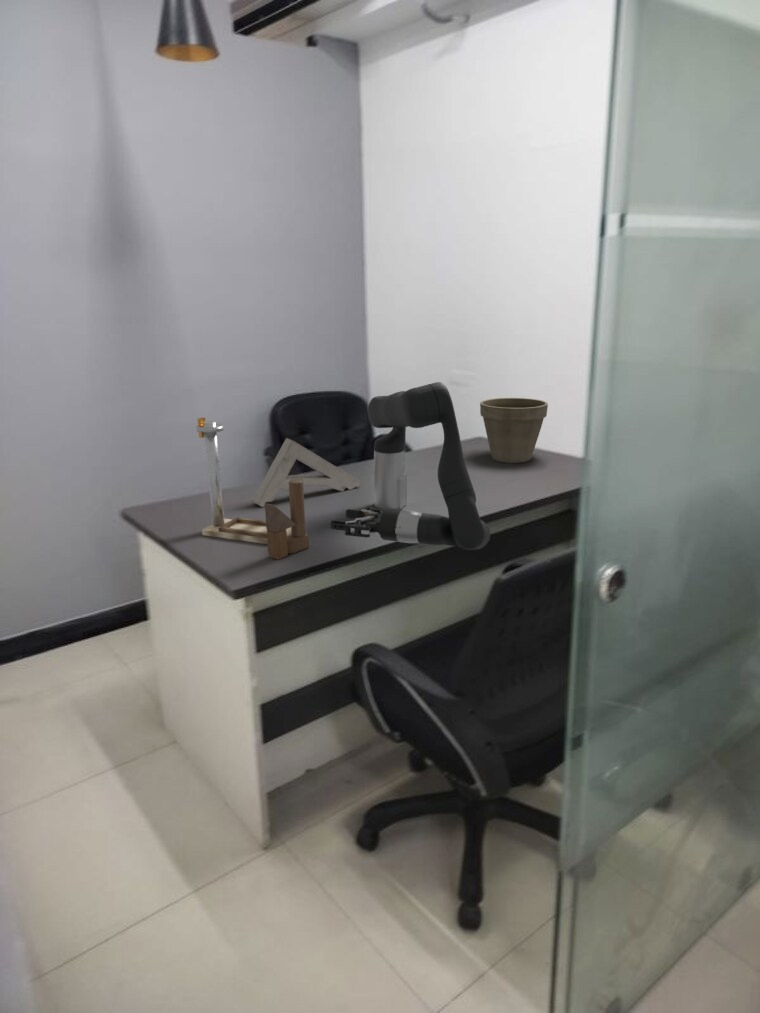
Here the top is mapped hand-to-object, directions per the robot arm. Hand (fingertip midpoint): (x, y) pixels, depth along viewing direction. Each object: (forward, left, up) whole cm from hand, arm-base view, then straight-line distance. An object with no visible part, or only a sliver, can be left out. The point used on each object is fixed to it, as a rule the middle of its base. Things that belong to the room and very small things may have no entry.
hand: (339, 518), depth 164 cm
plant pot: (-21, -113, -11) cm, 116 cm away
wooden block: (+14, 0, -11) cm, 18 cm away
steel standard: (+40, -8, -11) cm, 42 cm away
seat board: (+30, -8, -11) cm, 33 cm away
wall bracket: (+31, -45, -11) cm, 56 cm away
